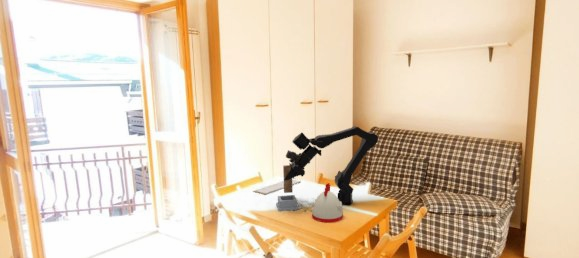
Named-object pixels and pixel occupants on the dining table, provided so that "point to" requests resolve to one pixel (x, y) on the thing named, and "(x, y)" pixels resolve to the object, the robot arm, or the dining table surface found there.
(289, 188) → the brown wooden block
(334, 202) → the kitchen timer
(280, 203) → the end cap
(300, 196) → the dining table surface
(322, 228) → the dining table surface
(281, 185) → the baseboard molding
